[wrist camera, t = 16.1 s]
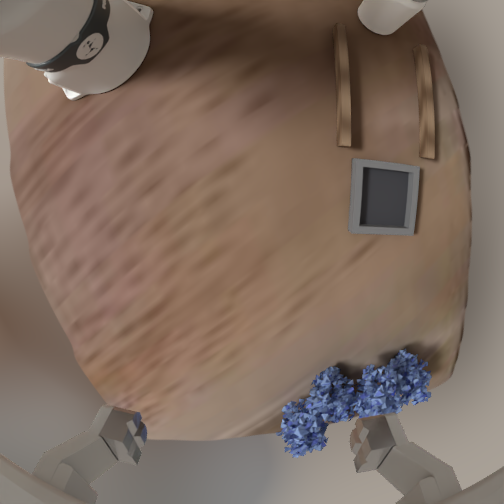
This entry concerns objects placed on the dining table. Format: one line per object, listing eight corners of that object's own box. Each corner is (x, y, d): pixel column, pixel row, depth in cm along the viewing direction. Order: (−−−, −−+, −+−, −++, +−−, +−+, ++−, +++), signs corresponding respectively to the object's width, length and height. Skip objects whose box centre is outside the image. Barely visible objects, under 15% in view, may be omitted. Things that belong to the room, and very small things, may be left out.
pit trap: (407, 232, 38) (413, 235, 36) (347, 230, 38) (351, 233, 36) (413, 166, 34) (419, 166, 33) (352, 158, 35) (356, 158, 33)
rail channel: (425, 158, 34) (434, 158, 32) (336, 146, 34) (342, 145, 32) (419, 50, 28) (426, 46, 26) (332, 30, 29) (336, 23, 26)
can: (384, 3, 26) (416, -31, 14) (401, 35, 28) (440, 7, 16) (349, 4, 27) (375, -36, 15) (367, 37, 29) (401, 3, 17)
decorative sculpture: (457, 367, 30) (267, 453, 32) (443, 410, 36) (294, 477, 38) (412, 315, 43) (256, 382, 45) (411, 363, 49) (281, 419, 51)
